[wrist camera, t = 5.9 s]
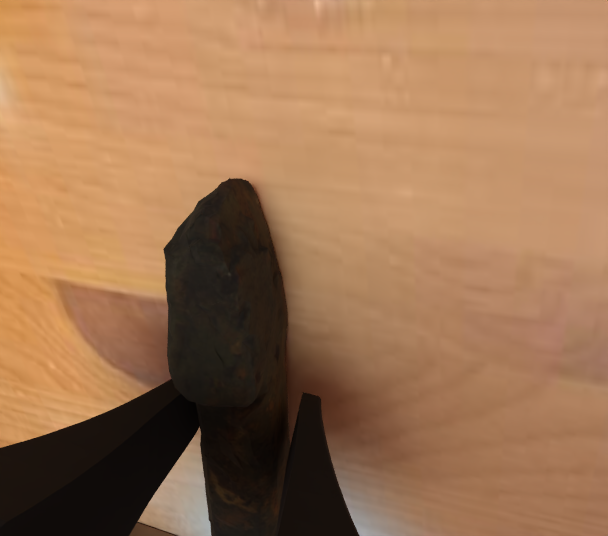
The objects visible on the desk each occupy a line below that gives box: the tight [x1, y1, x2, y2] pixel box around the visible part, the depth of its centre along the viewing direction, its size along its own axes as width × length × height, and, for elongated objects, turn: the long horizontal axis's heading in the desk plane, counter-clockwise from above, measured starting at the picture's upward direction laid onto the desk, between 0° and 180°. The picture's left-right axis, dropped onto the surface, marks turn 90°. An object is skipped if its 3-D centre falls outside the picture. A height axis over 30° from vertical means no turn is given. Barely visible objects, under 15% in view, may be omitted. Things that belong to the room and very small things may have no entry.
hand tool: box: [164, 178, 290, 536], centre depth 11 cm, size 19×4×5 cm, turn 178°
